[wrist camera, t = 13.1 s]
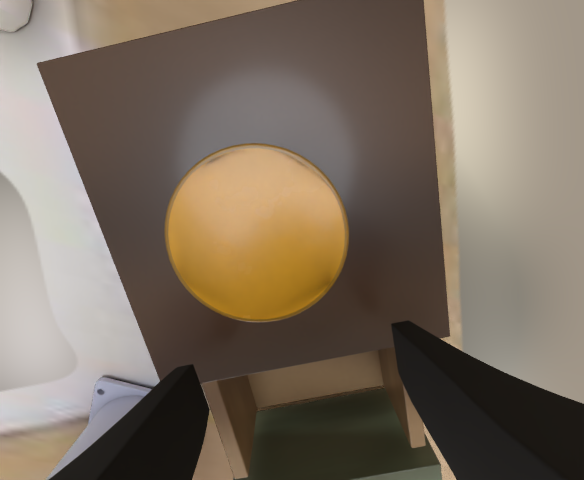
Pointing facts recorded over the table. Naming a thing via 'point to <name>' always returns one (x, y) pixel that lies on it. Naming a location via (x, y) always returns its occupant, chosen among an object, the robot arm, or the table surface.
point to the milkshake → (14, 14)
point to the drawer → (323, 423)
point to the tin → (256, 232)
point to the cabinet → (275, 131)
